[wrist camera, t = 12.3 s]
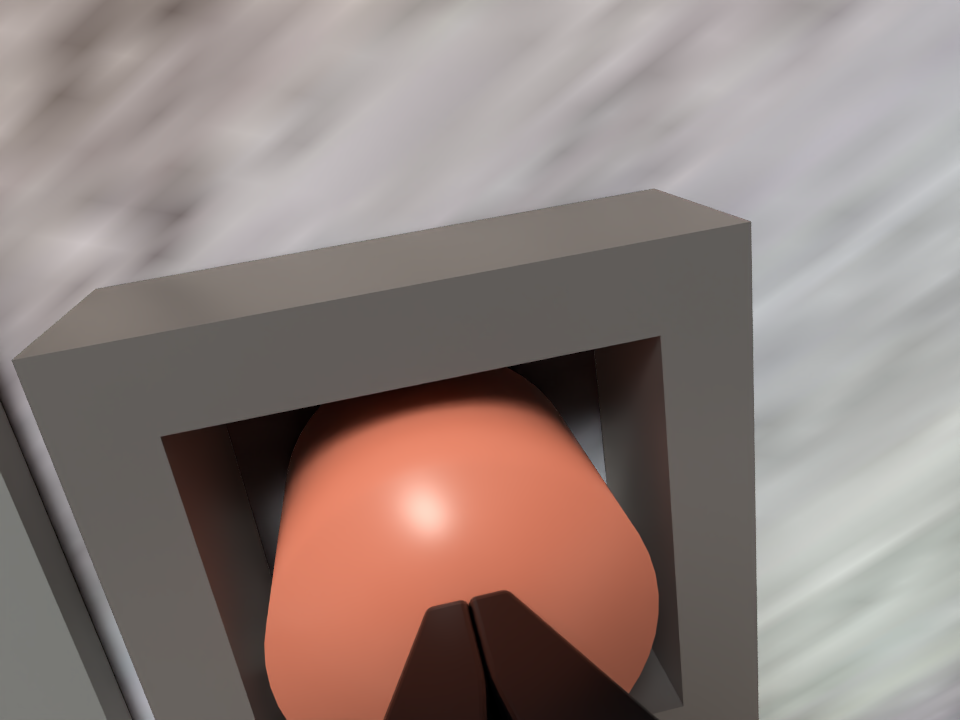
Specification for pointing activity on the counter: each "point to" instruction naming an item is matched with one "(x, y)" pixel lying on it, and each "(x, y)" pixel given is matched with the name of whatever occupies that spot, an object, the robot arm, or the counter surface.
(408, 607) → the button
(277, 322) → the button housing
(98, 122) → the counter surface
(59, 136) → the counter surface
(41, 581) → the picture board
